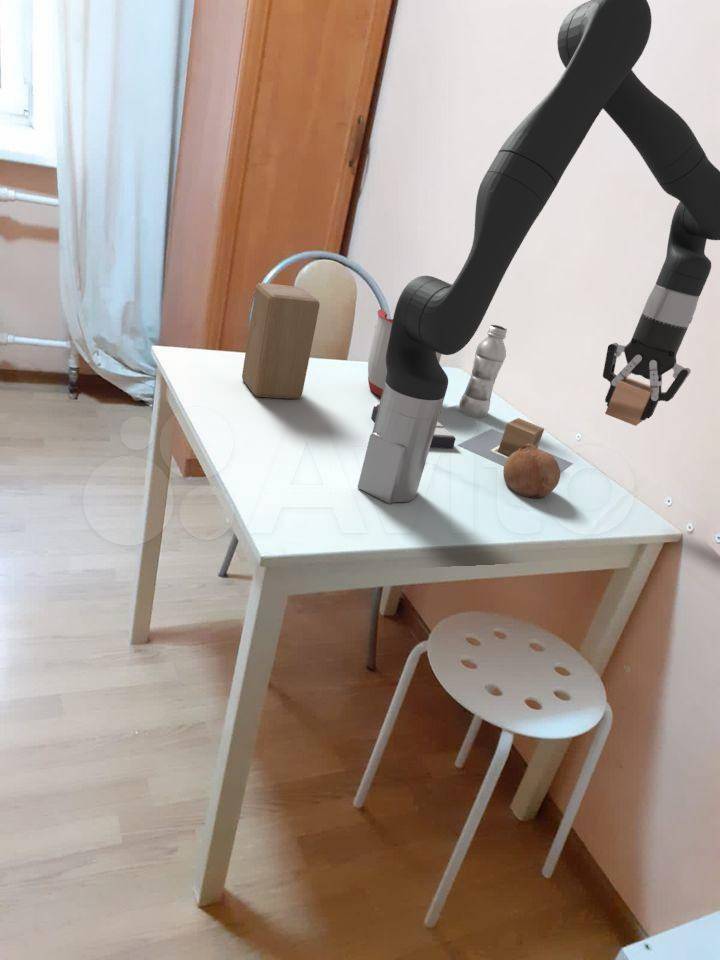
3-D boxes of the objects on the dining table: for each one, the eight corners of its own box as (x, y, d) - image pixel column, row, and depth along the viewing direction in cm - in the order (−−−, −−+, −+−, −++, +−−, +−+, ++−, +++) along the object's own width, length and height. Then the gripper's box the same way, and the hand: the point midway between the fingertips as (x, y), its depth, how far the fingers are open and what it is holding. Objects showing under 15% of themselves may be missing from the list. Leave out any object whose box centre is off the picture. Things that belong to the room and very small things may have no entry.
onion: (499, 500, 128) (495, 444, 127) (550, 495, 128) (547, 439, 127) (514, 507, 118) (510, 447, 117) (569, 502, 119) (566, 441, 118)
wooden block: (239, 379, 145) (255, 280, 136) (286, 381, 149) (303, 286, 141) (254, 398, 137) (271, 295, 128) (302, 400, 142) (322, 301, 133)
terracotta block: (635, 425, 121) (649, 393, 119) (604, 413, 124) (618, 381, 121) (643, 420, 126) (657, 388, 123) (613, 408, 128) (626, 377, 126)
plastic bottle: (452, 415, 154) (479, 324, 145) (462, 408, 160) (489, 320, 151) (479, 425, 152) (508, 334, 143) (489, 418, 157) (517, 330, 149)
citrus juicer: (392, 377, 169) (414, 293, 160) (443, 406, 158) (469, 318, 149) (341, 379, 159) (360, 289, 150) (391, 411, 148) (415, 316, 139)
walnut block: (523, 463, 135) (533, 434, 132) (497, 451, 137) (507, 423, 134) (534, 456, 139) (544, 428, 136) (508, 445, 141) (518, 417, 139)
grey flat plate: (542, 490, 128) (544, 483, 128) (455, 450, 136) (457, 444, 135) (570, 468, 141) (573, 462, 140) (490, 433, 149) (491, 428, 148)
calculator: (423, 406, 145) (457, 434, 132) (418, 425, 146) (451, 456, 134) (373, 402, 140) (404, 431, 128) (369, 422, 142) (399, 453, 129)
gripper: (617, 305, 117) (580, 400, 124) (706, 333, 111) (662, 432, 118) (629, 303, 123) (593, 394, 130) (714, 330, 117) (671, 424, 124)
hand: (626, 412), depth 124 cm, fingers closed on terracotta block, 5 cm apart
